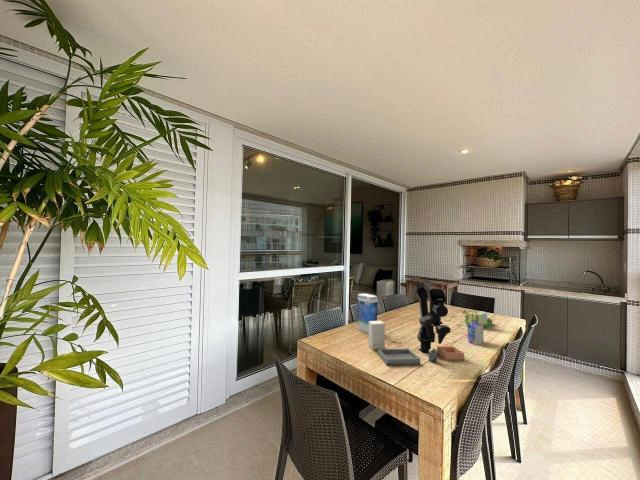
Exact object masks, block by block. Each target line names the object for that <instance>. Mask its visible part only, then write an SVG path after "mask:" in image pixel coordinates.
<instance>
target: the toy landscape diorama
mask: <svg viewBox="0 0 640 480" xmlns="http://www.w3.org/2000/svg"><path fill="white" fill-rule="evenodd" d="M461 313H462V314H465V315H464V318H465V319H464V322H465V324H466V326H468V324H471V323H473V322H475V321H476V322H477V323H481V324H483V328H489V327H491V326H492V323H494V322H493V320H492V319H491V318H490V317H488V313H487V312H486V311H481V310H480V311H478V310H475V309H474V310H473V311H472V310H471V309H468V310H461ZM472 320H475V321H473V322H472Z"/></svg>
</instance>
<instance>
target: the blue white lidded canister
mask: <svg viewBox="0 0 640 480" xmlns="http://www.w3.org/2000/svg"><path fill="white" fill-rule="evenodd" d="M369 321H378V295H374V294H369V293H358V294H357V330H359V331H361V332H364V333H366V334H368V335H369Z"/></svg>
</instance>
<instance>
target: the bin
mask: <svg viewBox="0 0 640 480" xmlns="http://www.w3.org/2000/svg"><path fill="white" fill-rule="evenodd" d="M436 350H437V356H440V357H441V358H442V359H444V361H447V362H449V361H450V362H451V361H452V362H453V361H454V362H455V361H456V362H457V361H465V352H463V351H462V350H461V349H459V348H458V347H456V346H452V345H449V346H448V345H447V346H444V345H443V346H441V345H439V346H438V345H437V347H436Z"/></svg>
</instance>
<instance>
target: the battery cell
mask: <svg viewBox="0 0 640 480" xmlns="http://www.w3.org/2000/svg"><path fill="white" fill-rule="evenodd" d="M437 361H438V354H437V348H436V349H435V348H433V347H431V349H429V353H428V362H429V363H434V364H435V363H437Z"/></svg>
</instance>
